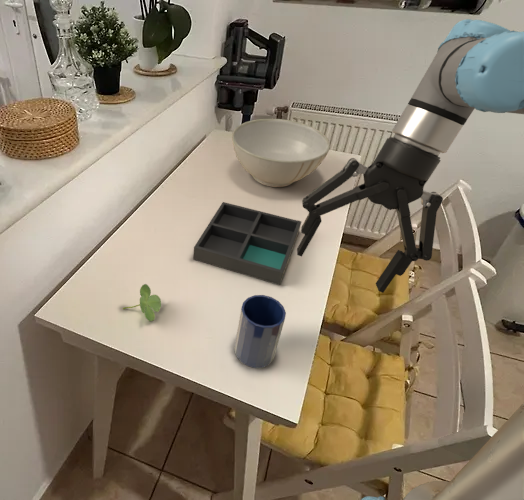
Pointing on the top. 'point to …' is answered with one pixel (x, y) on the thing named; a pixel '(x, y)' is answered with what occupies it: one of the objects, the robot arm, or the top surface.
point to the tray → (248, 242)
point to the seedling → (148, 303)
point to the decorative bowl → (279, 150)
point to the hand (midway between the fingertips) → (338, 270)
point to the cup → (259, 330)
